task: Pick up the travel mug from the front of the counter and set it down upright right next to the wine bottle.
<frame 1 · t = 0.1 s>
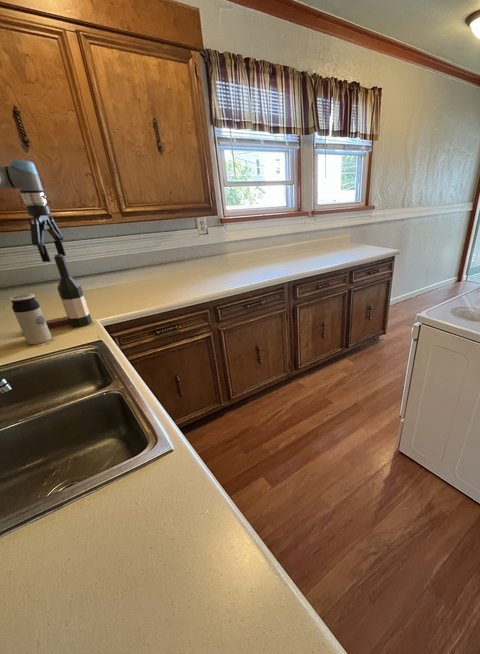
hand: (55, 258, 141), 27 cm above the worktop, tool pointing down, fingers open, 13 cm apart
granola bar: (54, 325, 143), on the worktop
travel mug: (40, 341, 129), on the worktop
wine bottle: (81, 324, 144), on the worktop
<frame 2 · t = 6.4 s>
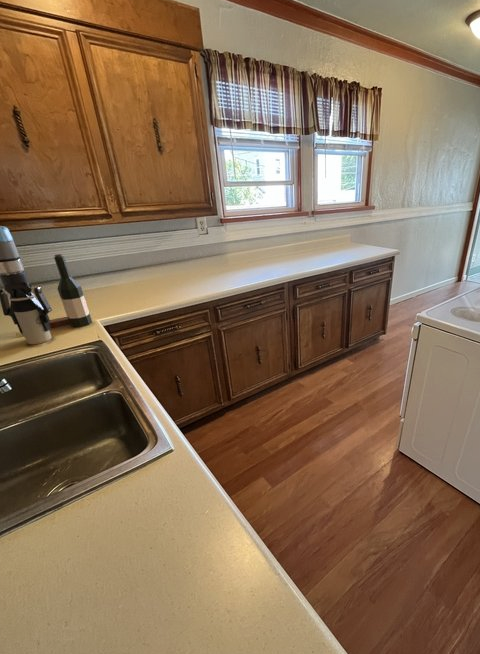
hand: (35, 330, 127), 4 cm above the worktop, tool pointing down, fingers closed on travel mug, 8 cm apart
travel mug: (40, 341, 129), on the worktop, touching gripper
everything else where it was.
when the fingers open (4 cm above the worktop, at t = 13.6 s): travel mug stays where it is, on the worktop.
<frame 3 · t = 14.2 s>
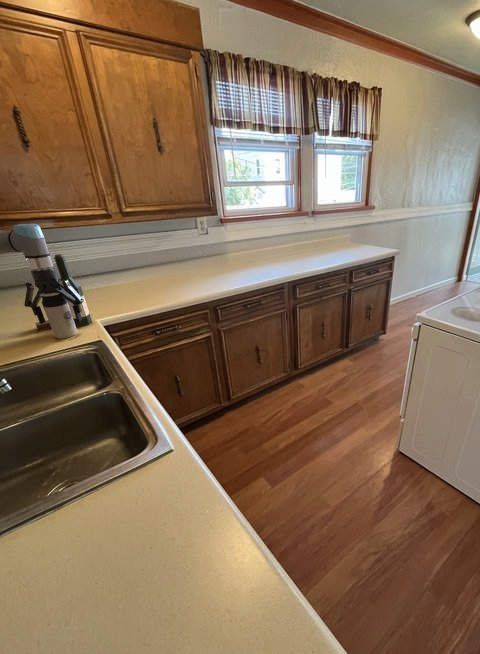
hand: (61, 321, 131), 6 cm above the worktop, tool pointing down, fingers open, 13 cm apart
travel mug: (66, 335, 134), on the worktop
everything else where it was.
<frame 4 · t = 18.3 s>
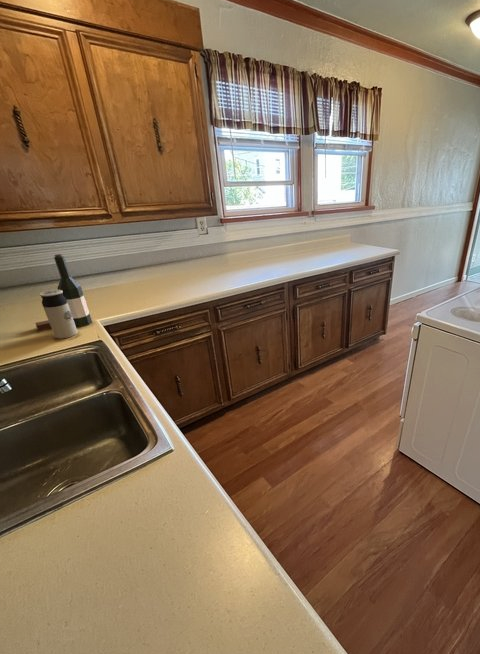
nothing on the worktop moved.
at the end: travel mug 12.1 cm from the wine bottle (horizontally); travel mug tilted 0°; wine bottle moved 0.2 cm from its start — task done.
